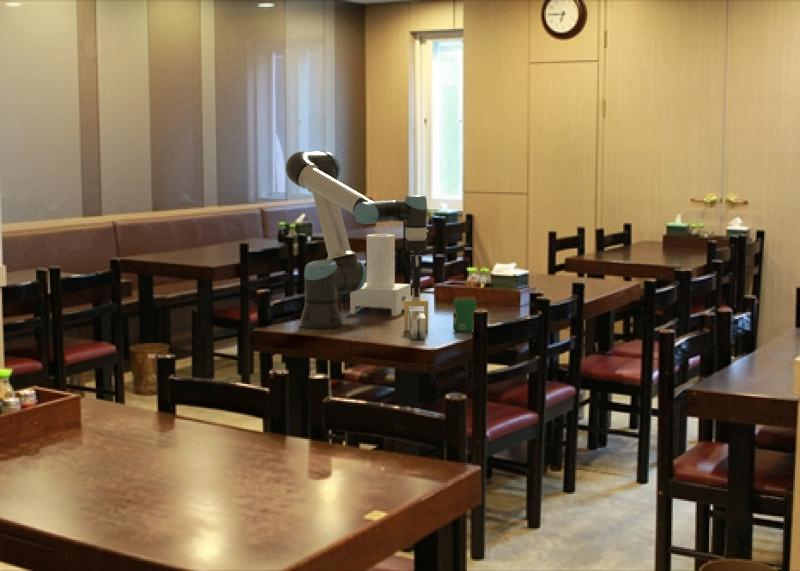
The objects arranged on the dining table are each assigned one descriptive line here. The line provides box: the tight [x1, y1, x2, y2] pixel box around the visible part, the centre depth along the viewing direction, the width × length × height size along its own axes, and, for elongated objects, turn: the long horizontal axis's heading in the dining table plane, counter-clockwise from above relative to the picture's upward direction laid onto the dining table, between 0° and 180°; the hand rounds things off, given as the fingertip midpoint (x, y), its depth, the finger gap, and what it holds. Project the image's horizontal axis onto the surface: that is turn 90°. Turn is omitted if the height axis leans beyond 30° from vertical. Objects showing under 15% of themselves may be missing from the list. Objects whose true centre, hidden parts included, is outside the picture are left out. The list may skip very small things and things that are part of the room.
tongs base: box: [408, 309, 424, 312], centre depth 407 cm, size 3×5×7 cm, turn 92°
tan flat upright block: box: [403, 299, 429, 332], centre depth 403 cm, size 2×8×11 cm, turn 92°
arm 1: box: [408, 310, 419, 340], centre depth 394 cm, size 18×2×7 cm, turn 2°
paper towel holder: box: [349, 233, 412, 317], centre depth 448 cm, size 19×19×30 cm
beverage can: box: [452, 296, 477, 334], centre depth 402 cm, size 8×8×12 cm
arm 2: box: [417, 310, 427, 341], centre depth 394 cm, size 18×2×7 cm, turn 1°
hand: (416, 305), depth 405 cm, fingers closed
